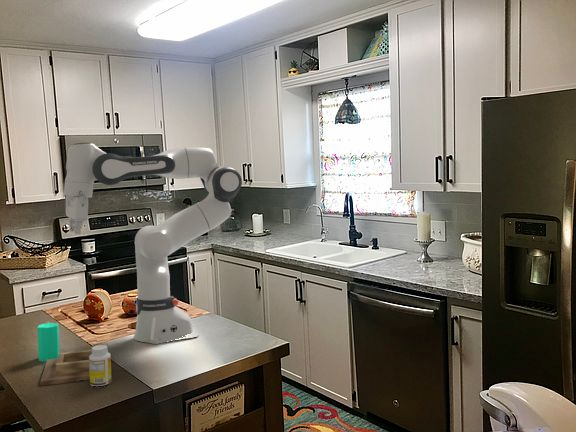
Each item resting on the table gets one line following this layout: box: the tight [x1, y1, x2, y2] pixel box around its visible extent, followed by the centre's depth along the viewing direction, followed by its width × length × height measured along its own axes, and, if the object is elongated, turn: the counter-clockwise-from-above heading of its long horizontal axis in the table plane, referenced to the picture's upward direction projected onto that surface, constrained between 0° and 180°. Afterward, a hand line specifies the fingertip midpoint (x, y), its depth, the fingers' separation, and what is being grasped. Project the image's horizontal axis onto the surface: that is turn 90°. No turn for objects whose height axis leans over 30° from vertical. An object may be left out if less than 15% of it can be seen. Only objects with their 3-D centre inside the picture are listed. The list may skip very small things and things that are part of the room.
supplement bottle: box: [89, 344, 112, 387], centre depth 141 cm, size 6×6×10 cm
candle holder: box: [39, 349, 92, 387], centre depth 151 cm, size 18×18×4 cm
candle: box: [37, 322, 61, 363], centre depth 161 cm, size 6×6×12 cm
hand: (74, 232), depth 172 cm, fingers open, 8 cm apart
